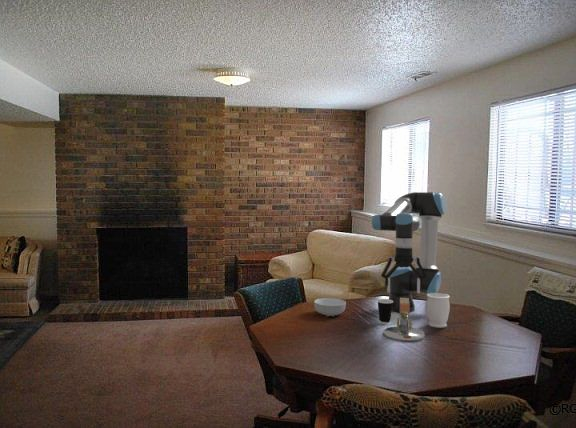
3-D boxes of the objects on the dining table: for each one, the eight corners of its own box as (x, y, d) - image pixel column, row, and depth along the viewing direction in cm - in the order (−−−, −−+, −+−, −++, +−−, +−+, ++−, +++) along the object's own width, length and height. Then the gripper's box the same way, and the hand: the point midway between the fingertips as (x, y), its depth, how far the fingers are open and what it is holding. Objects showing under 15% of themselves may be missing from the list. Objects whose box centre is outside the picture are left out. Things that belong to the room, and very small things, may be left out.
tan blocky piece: (396, 332, 214) (397, 304, 213) (396, 323, 227) (397, 297, 226) (411, 333, 213) (412, 304, 212) (411, 324, 225) (411, 298, 225)
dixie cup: (396, 323, 239) (396, 301, 238) (383, 325, 235) (383, 303, 234) (386, 319, 246) (386, 298, 245) (373, 321, 242) (373, 299, 241)
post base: (381, 329, 230) (381, 311, 229) (420, 330, 228) (420, 312, 228) (386, 341, 212) (386, 322, 211) (428, 342, 210) (428, 323, 210)
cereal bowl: (347, 319, 247) (347, 305, 246) (314, 319, 247) (314, 305, 246) (343, 310, 263) (344, 297, 263) (313, 310, 264) (313, 297, 263)
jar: (446, 322, 240) (447, 293, 239) (451, 329, 230) (452, 297, 229) (424, 322, 241) (425, 292, 240) (428, 328, 231) (429, 297, 230)
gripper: (377, 248, 219) (377, 294, 220) (433, 248, 217) (432, 294, 219) (375, 245, 226) (375, 290, 228) (429, 245, 224) (429, 290, 226)
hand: (403, 292), depth 223 cm, fingers open, 13 cm apart
